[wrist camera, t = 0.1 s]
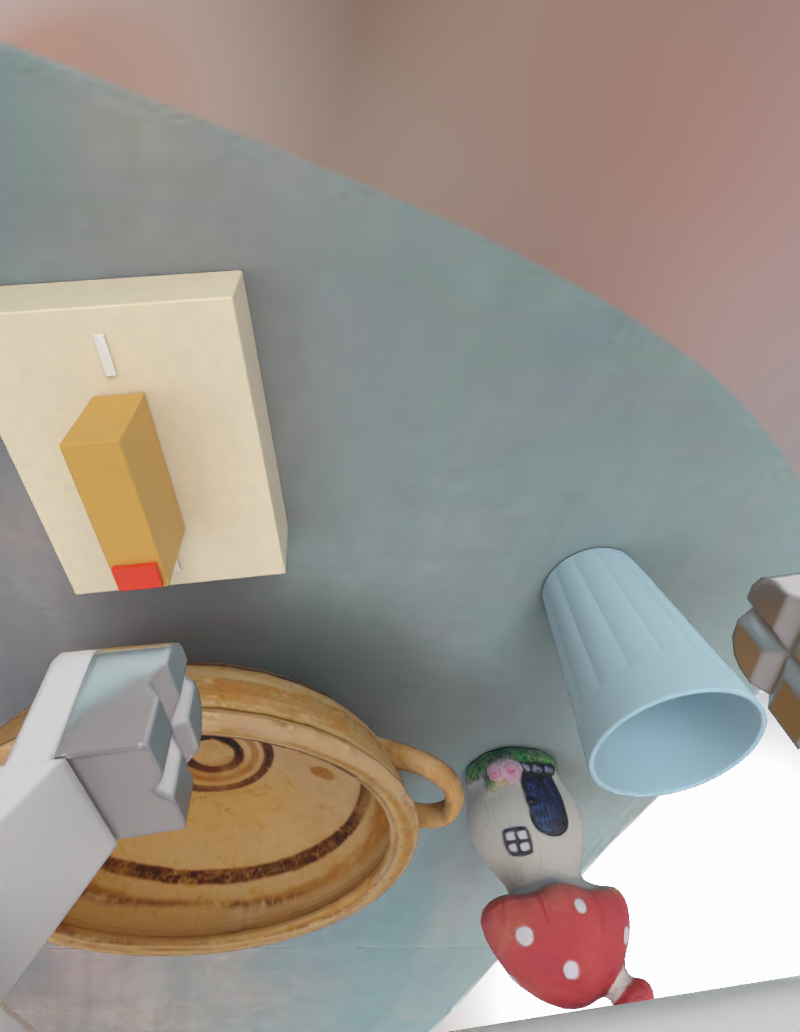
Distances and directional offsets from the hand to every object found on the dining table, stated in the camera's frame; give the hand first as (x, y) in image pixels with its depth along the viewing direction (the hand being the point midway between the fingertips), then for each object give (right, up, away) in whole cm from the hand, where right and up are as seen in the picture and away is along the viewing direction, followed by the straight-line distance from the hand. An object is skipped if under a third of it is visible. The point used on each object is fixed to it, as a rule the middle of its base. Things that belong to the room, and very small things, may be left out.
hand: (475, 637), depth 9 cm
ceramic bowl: (-13, -12, +29) cm, 34 cm away
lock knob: (-11, +4, +14) cm, 18 cm away
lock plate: (-11, +6, +17) cm, 21 cm away
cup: (+10, -2, +26) cm, 28 cm away
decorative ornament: (+7, -17, +36) cm, 41 cm away
